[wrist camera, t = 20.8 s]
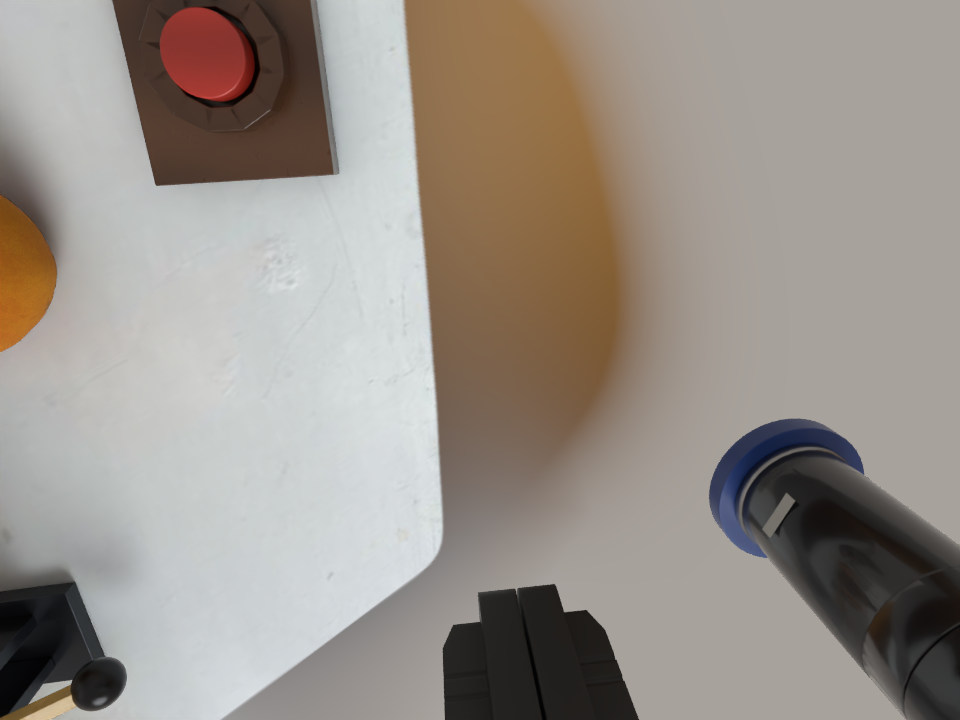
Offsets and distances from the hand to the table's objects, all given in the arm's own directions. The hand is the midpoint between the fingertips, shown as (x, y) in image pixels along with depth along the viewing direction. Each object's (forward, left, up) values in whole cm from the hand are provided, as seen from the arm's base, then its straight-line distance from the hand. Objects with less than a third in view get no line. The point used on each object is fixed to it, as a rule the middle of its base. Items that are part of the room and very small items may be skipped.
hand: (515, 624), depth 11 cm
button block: (+18, +1, -29) cm, 34 cm away
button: (+18, +1, -25) cm, 31 cm away
